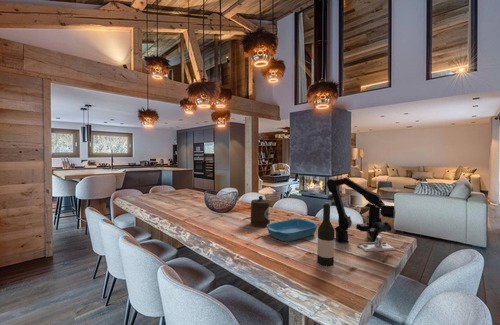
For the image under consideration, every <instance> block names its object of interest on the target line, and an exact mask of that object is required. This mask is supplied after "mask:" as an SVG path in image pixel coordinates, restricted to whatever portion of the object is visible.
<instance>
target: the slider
mask: <svg viewBox="0 0 500 325" xmlns="http://www.w3.org/2000/svg"><path fill="white" fill-rule="evenodd" d="M383 238H384V237H383V236H380V235H378V236H377V238H376V240H375V242H374V244H375V245H376V246H382V244H383V242H384V240H383Z"/></svg>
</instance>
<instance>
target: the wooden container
mask: <svg viewBox="0 0 500 325" xmlns="http://www.w3.org/2000/svg"><path fill="white" fill-rule="evenodd" d="M263 198H264V196H262V195H260V196H258V198H257V199H251V201H250V203H251V204H250V205H251V206H250V226H253V227H255V228H267V225H268V224H270V223H271V200H269V199H263Z"/></svg>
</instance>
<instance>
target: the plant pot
mask: <svg viewBox="0 0 500 325" xmlns="http://www.w3.org/2000/svg"><path fill="white" fill-rule="evenodd" d="M367 223H368V222H364V223H363V224H364V225H366V226H368V225H367ZM365 233H366V238H367V239H370V240H371V238H370V235H369V233H368V232H367V231H365Z"/></svg>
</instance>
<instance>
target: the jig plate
mask: <svg viewBox="0 0 500 325" xmlns="http://www.w3.org/2000/svg"><path fill="white" fill-rule="evenodd" d="M356 245H357V247H358V248H360V249H361V250H363V251H364V252H379V251H383V252H384V251H395V250H396V247H393V245H390V244H388V243H387V241H383V244H382V246H376V245H375V244H374V242H372V241H371V242H370V241H369V242H358V243H357V244H356Z"/></svg>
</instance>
